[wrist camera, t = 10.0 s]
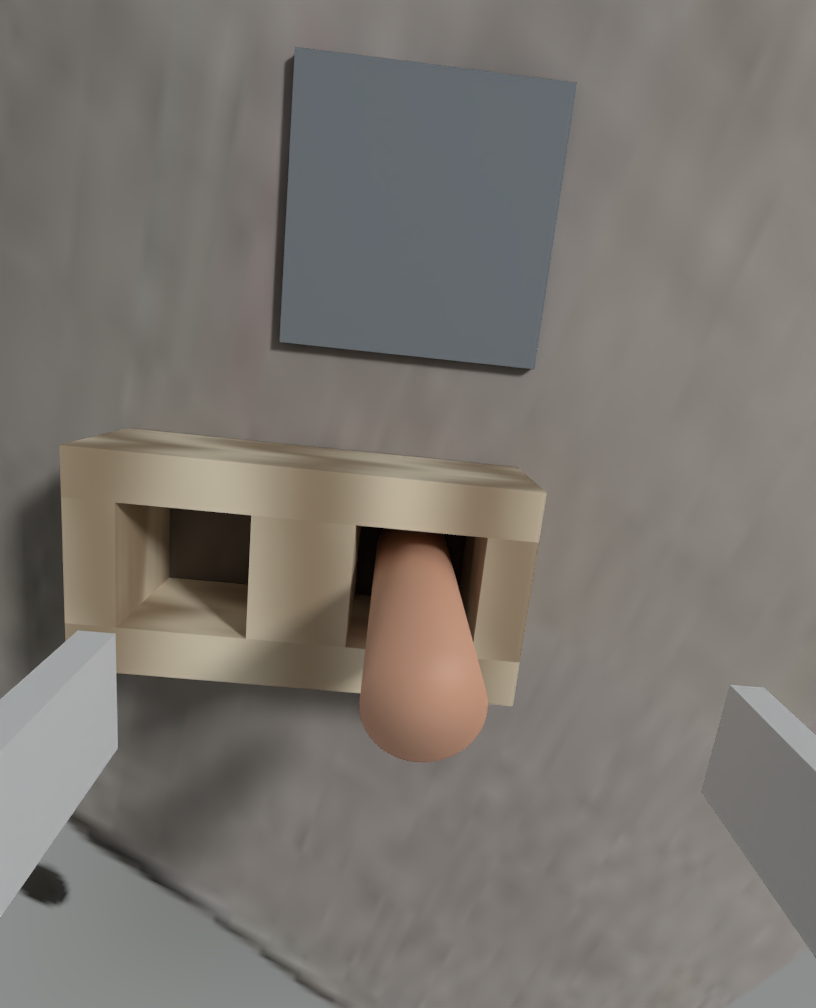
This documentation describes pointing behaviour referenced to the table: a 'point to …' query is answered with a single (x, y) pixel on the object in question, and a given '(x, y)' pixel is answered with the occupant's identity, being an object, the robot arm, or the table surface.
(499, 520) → the hole block
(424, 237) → the mat
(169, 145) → the table surface
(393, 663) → the peg
